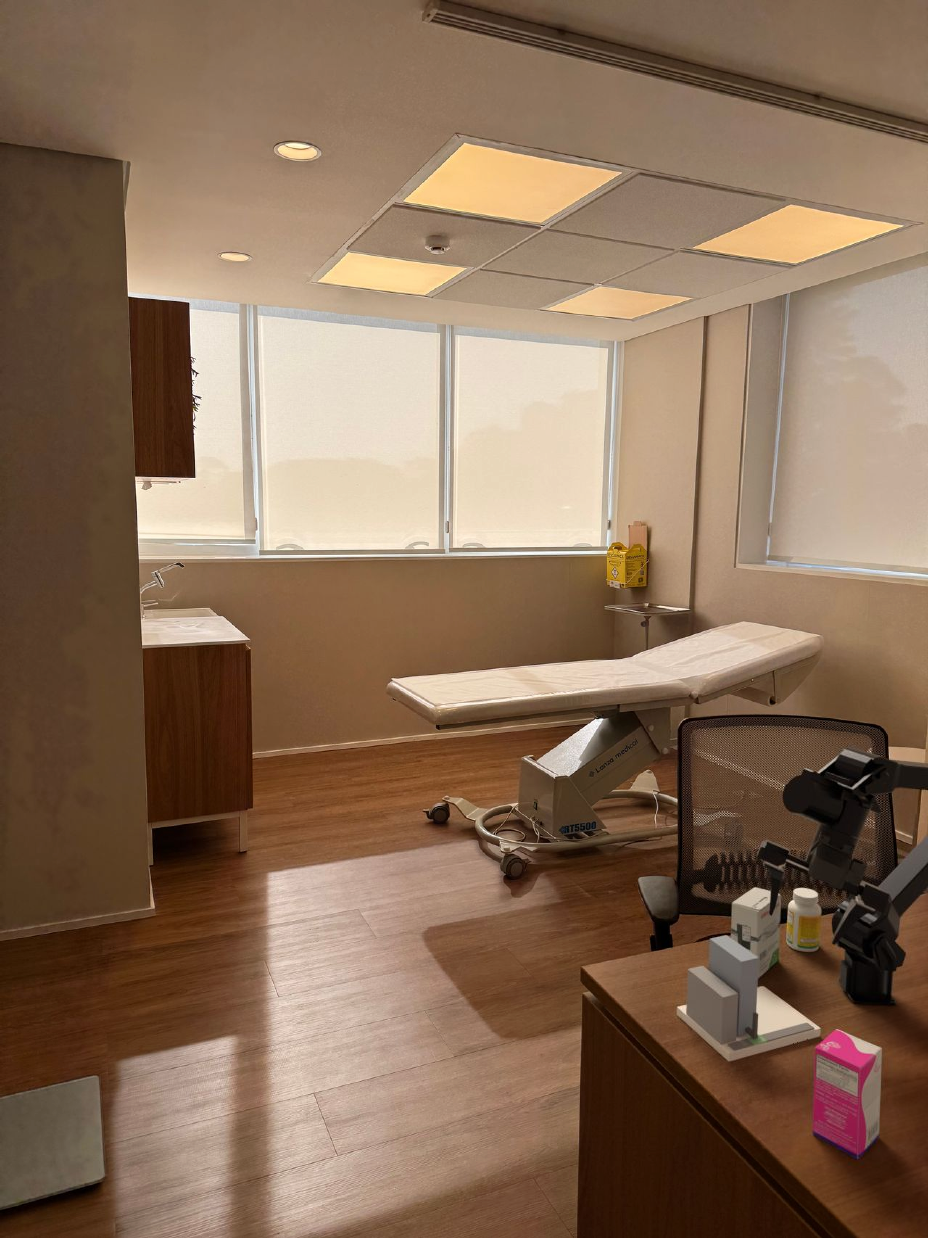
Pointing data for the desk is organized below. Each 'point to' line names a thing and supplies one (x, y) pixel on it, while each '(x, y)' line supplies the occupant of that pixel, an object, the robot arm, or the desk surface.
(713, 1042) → the base
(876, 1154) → the desk surface
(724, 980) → the block
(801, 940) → the supplement bottle
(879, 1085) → the supplement box
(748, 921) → the ink box
